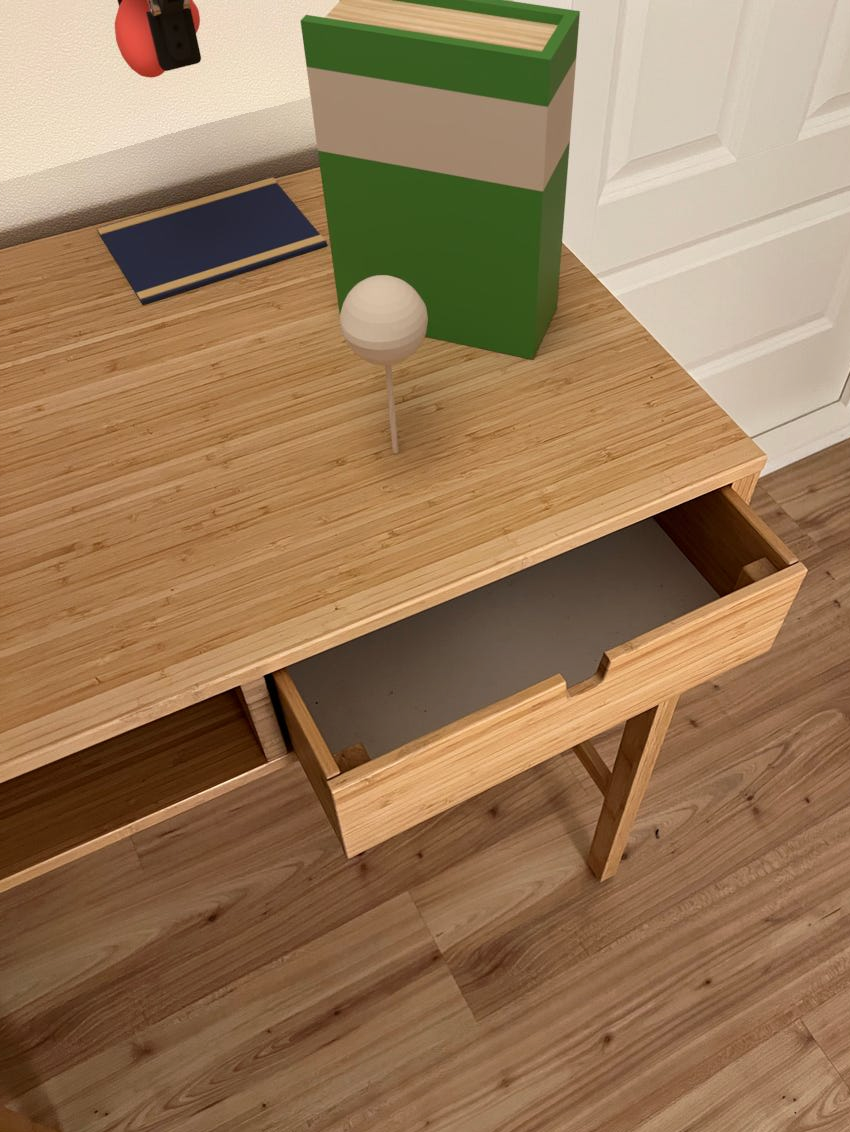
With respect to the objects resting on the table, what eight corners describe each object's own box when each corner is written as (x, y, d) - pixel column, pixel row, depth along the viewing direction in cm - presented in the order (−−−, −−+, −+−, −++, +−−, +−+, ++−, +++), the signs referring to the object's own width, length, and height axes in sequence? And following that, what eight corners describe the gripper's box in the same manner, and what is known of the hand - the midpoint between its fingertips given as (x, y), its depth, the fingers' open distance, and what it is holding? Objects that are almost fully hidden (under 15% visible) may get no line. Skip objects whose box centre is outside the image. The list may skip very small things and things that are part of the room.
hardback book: (340, 318, 87) (300, 20, 67) (371, 270, 91) (342, -24, 72) (533, 359, 84) (550, 59, 64) (557, 307, 88) (579, 11, 68)
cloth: (142, 305, 88) (141, 300, 88) (97, 231, 95) (95, 227, 94) (327, 246, 93) (326, 241, 93) (272, 180, 100) (271, 175, 99)
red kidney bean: (103, 85, 80) (89, 28, 74) (152, -3, 82) (142, -65, 75) (164, 115, 81) (155, 62, 74) (211, 28, 82) (207, -32, 76)
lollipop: (386, 414, 80) (370, 246, 68) (448, 441, 78) (443, 273, 66) (341, 461, 77) (316, 293, 65) (405, 490, 75) (391, 323, 63)
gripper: (0, -272, 68) (82, 10, 82) (74, -199, 59) (152, 102, 73) (107, -286, 70) (169, -10, 84) (195, -218, 61) (248, 77, 75)
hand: (161, 41), depth 79 cm, fingers closed on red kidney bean, 8 cm apart
